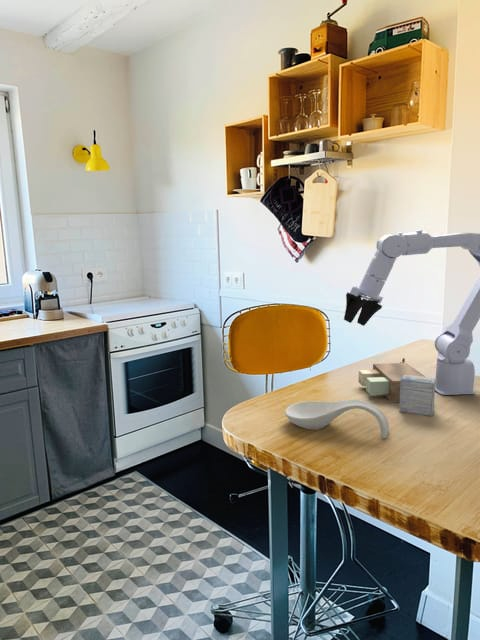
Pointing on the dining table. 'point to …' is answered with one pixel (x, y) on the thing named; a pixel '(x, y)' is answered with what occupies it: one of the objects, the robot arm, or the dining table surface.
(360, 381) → the beech bar
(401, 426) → the dining table surface
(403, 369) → the walnut block
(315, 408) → the spoon rest
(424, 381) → the medicine box
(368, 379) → the sage bar
